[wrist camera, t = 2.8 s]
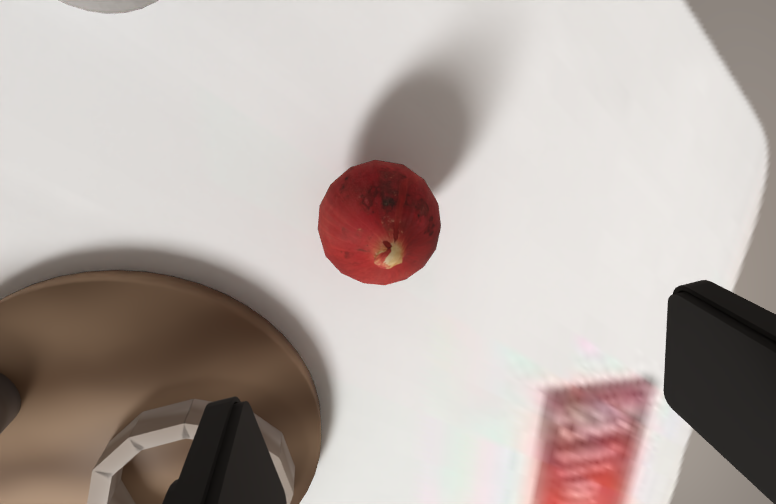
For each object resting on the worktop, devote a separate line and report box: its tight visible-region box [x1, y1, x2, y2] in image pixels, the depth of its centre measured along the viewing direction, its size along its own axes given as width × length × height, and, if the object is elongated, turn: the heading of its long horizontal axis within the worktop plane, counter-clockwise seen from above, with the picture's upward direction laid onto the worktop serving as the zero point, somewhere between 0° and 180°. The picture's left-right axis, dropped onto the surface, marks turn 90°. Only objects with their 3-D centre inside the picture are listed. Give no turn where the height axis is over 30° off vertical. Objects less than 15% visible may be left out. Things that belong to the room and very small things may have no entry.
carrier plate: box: [0, 270, 321, 504], centre depth 25 cm, size 22×22×4 cm
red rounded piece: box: [318, 160, 441, 285], centre depth 21 cm, size 6×6×8 cm
